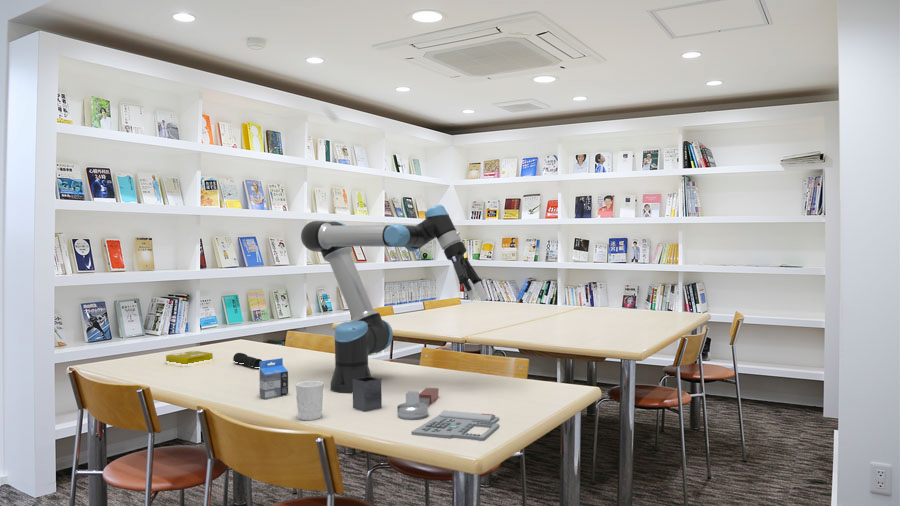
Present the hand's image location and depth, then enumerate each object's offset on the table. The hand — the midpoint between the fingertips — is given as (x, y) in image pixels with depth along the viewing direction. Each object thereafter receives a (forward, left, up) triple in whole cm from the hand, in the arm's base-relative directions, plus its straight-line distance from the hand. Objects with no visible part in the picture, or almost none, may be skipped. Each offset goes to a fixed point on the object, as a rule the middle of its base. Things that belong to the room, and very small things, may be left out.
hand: (480, 299), depth 220 cm
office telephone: (-20, -39, -33) cm, 55 cm away
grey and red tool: (-25, -14, -32) cm, 43 cm away
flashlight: (-77, +81, -32) cm, 116 cm away
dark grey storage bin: (-41, -9, -32) cm, 53 cm away
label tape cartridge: (-68, +18, -32) cm, 78 cm away
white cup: (-59, -14, -32) cm, 69 cm away
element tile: (-101, +99, -33) cm, 145 cm away
